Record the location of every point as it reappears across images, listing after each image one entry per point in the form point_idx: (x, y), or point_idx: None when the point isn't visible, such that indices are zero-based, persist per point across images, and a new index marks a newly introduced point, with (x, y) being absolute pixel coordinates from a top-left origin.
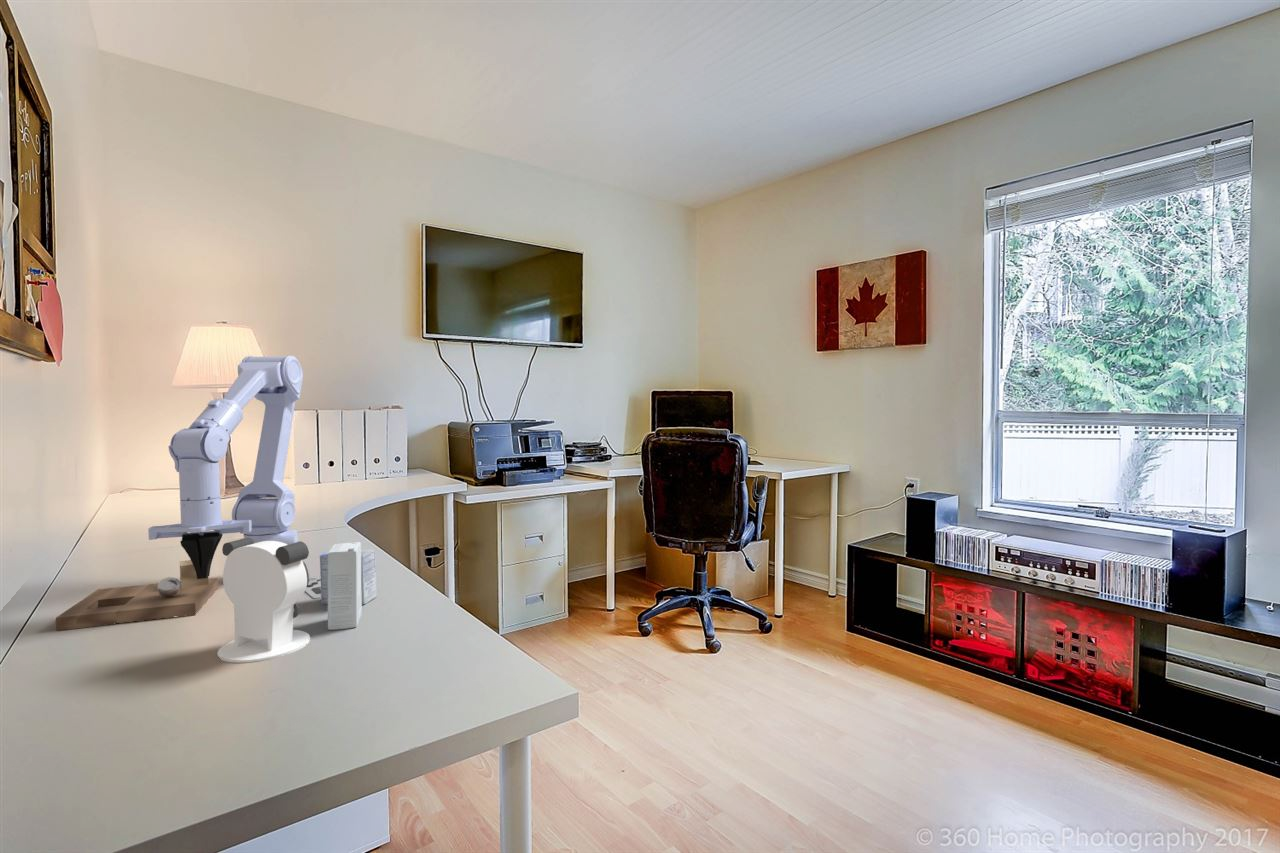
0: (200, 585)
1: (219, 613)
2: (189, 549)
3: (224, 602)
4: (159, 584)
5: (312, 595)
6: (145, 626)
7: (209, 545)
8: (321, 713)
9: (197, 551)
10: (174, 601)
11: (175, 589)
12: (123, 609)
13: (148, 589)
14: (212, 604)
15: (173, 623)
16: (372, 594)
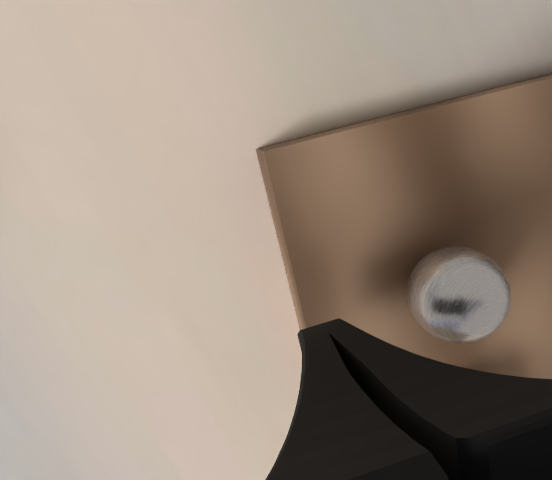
0: None
1: (158, 157)
2: (479, 388)
3: (221, 313)
4: (499, 267)
5: None
6: (392, 24)
7: (311, 460)
8: None
9: (404, 400)
10: (374, 192)
11: (416, 270)
12: (536, 103)
13: (547, 378)
14: (259, 291)
15: (295, 42)
16: None
